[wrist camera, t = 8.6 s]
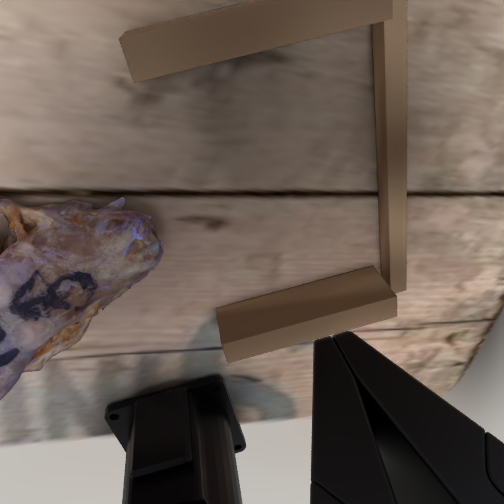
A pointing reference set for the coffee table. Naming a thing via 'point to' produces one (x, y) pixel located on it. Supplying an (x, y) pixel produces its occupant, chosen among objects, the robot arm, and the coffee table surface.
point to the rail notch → (388, 154)
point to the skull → (64, 275)
